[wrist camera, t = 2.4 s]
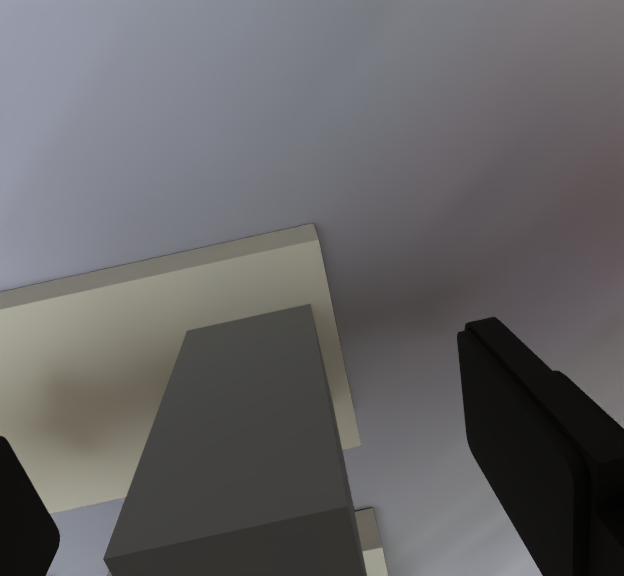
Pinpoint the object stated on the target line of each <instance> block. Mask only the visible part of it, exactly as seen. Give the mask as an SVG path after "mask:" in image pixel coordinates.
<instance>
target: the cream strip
mask: <svg viewBox="0 0 624 576" xmlns="http://www.w3.org/2000/svg"><path fill="white" fill-rule="evenodd" d="M0 436H3V437H5V438H6V439H7V440H8V442H9V444H10V445H11V447H12V449H13V451H14V452H15V454H16V456H17V458H18V459H19V461H20V463H21V465H22V466H23V468H24V470H25V472H26V473H27V475H28V477H29V479H30V480H31V482H32V484H33V486H34V488H35V489H36V491H37V493H38V495H39V496H40V498H41V500H42V502H43V503H44V505H45V507H46V509H47V510H48V512H49V514H52V513H56V512H61V511H65V510H70V509H75V508H79V507H84V506H88V505H93V504H98V503H102V502H107V501H111V500H116V499H121V498H125V497H126V499H125V501H124V504H123V507H122V509H121V512H120V515H119V518H118V520H117V523H116V526H115V529H114V531H113V534H112V537H111V539H110V542H109V545H108V548H107V550H106V553H105V556H104V558H103V560H104V561H105V563H106V565H107V567H108V569H109V571H110V573H111V574H112V576H367V573H366V568H365V563H364V558H363V552H362V547H361V542H360V537H359V532H358V527H357V522H356V517H355V512H354V507H353V502H352V497H351V492H350V487H349V482H348V477H347V472H346V467H345V461H344V456H343V451H342V450H345V449H350V448H355V447H359V446H361V442H360V437H359V432H358V428H357V423H356V418H355V413H354V408H353V403H352V399H351V394H350V389H349V384H348V379H347V374H346V370H345V365H344V360H343V355H342V350H341V345H340V340H339V336H338V331H337V326H336V321H335V316H334V311H333V307H332V302H331V297H330V292H329V287H328V282H327V278H326V273H325V268H324V263H323V258H322V253H321V249H320V244H319V239H318V236H317V233H316V230H315V227H314V224H313V223H312V224H307V225H303V226H298V227H294V228H289V229H285V230H280V231H275V232H271V233H266V234H262V235H257V236H253V237H248V238H244V239H239V240H235V241H230V242H226V243H221V244H216V245H212V246H207V247H203V248H198V249H194V250H189V251H185V252H180V253H176V254H171V255H167V256H162V257H157V258H153V259H148V260H144V261H139V262H135V263H130V264H126V265H121V266H117V267H112V268H107V269H103V270H98V271H94V272H89V273H85V274H80V275H76V276H71V277H67V278H62V279H58V280H53V281H48V282H44V283H39V284H35V285H30V286H26V287H21V288H17V289H12V290H8V291H3V292H0Z"/></svg>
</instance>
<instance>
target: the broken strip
mask: <svg viewBox="0 0 624 576" xmlns="http://www.w3.org/2000/svg"><path fill="white" fill-rule="evenodd" d="M355 517H356V522H357V527H358V532H359V537H360V542H361V547H362V552H363V558H364V563H365V568H366V573H367V576H388V573H387V568H386V563H385V558H384V553H383V548H382V544H381V540H380V536H379V532H378V528H377V524H376V520H375V515H374V511H373V508H370V509H365V510H361V511H356V512H355ZM107 576H112V574H111V573H110V571H109V572H108V575H107Z"/></svg>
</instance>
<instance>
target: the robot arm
mask: <svg viewBox="0 0 624 576" xmlns="http://www.w3.org/2000/svg"><path fill="white" fill-rule="evenodd" d="M457 342H458V352H459V363H460V373H461V383H462V394H463V404H464V414H465V425H466V435H467V440H468V444H469V447H470V450H471V452H472V454H473V456H474V458H475V460H476V461H477V463H478V465H479V467H480V468H481V470H482V472H483V473H484V475H485V477H486V479H487V480H488V482H489V484H490V486H491V487H492V489H493V491H494V492H495V494H496V496H497V498H498V499H499V501H500V503H501V504H502V506H503V508H504V510H505V511H506V513H507V515H508V517H509V518H510V520H511V522H512V523H513V525H514V527H515V529H516V530H517V532H518V534H519V536H520V537H521V539H522V541H523V542H524V544H525V546H526V548H527V549H528V551H529V553H530V554H531V556H532V558H533V560H534V561H535V563H536V565H537V567H538V568H539V570H540V572H541V573H542V575H543V576H624V429H623V428H622V427H621V426H620V425H619V424H618V423H617V422H616V421H615V420H613V419H612V418H611V417H610V416H609V415H608V414H607V413H606V412H605V411H604V410H603V409H602V408H600V407H599V406H598V405H597V404H596V403H595V402H594V401H593V400H592V399H591V398H590V397H589V396H587V395H586V394H585V393H584V392H583V391H582V390H581V389H580V388H579V387H578V386H577V385H576V384H574V383H573V382H572V381H571V380H570V379H569V378H568V377H567V376H566V375H564V374H563V373H561V372H560V371H555V370H554V371H552V370H551V369H550V368H549V367H548V366H547V365H546V364H545V363H544V362H543V361H542V360H541V359H540V358H538V357H537V356H536V355H535V354H534V353H533V352H532V351H531V350H530V349H529V348H528V347H527V346H526V345H525V344H524V343H523V342H522V341H521V340H520V339H518V338H517V337H516V336H515V335H514V334H513V333H512V332H511V331H510V330H509V329H508V328H507V327H506V326H505V325H504V324H503V323H502V322H501V321H499V320H498V319H497V318H496V317H491V318H486V319H482V320H477V321H473V322H468V323H466V325H465V331H461V332H458V334H457ZM59 542H60V535H59V530H58V528H57V526H56V524H55V523H54V521H53V519H52V517H51V516H50V514H49V512H48V510H47V509H46V507H45V505H44V503H43V502H42V500H41V498H40V496H39V495H38V493H37V491H36V489H35V488H34V486H33V484H32V482H31V480H30V479H29V477H28V475H27V473H26V472H25V470H24V468H23V466H22V465H21V463H20V461H19V459H18V458H17V456H16V454H15V452H14V451H13V449H12V447H11V445H10V444H9V442H8V440H7V439H6V438H5V437H3V436H0V576H46V574H47V571H48V569H49V567H50V565H51V563H52V561H53V559H54V556H55V554H56V552H57V550H58V547H59Z"/></svg>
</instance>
